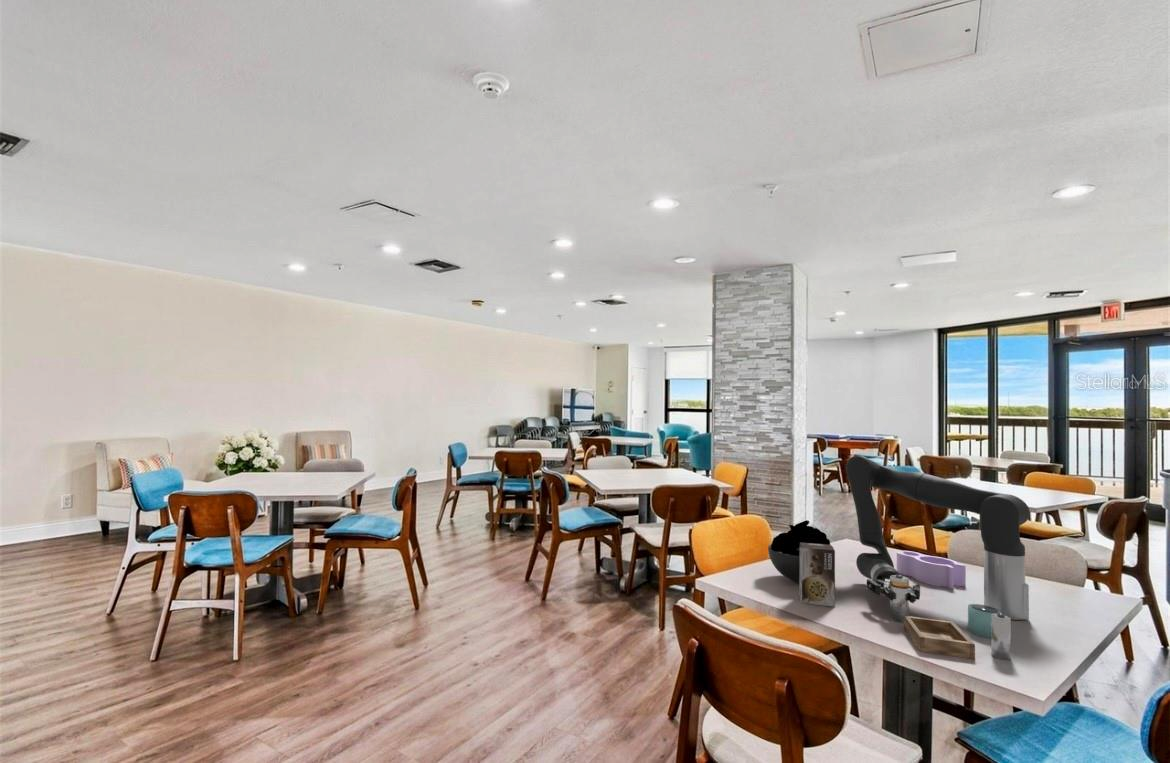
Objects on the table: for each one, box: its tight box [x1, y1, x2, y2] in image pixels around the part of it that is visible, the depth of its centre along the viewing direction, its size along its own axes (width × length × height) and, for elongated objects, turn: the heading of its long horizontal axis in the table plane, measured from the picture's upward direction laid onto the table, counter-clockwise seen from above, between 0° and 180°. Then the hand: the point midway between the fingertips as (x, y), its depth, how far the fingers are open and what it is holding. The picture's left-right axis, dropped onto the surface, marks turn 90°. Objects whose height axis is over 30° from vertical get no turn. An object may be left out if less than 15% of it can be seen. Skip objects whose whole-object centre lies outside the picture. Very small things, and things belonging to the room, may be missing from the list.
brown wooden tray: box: [903, 615, 976, 660], centre depth 132 cm, size 11×14×3 cm
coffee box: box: [798, 542, 836, 608], centre depth 159 cm, size 9×6×16 cm
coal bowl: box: [767, 519, 831, 583], centre depth 178 cm, size 20×20×19 cm
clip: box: [896, 550, 967, 590], centre depth 186 cm, size 20×12×7 cm, turn 26°
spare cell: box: [990, 613, 1012, 661], centre depth 126 cm, size 4×4×10 cm
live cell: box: [889, 574, 910, 623], centre depth 147 cm, size 4×4×12 cm
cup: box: [967, 603, 1002, 639], centre depth 140 cm, size 7×7×6 cm
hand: (902, 597), depth 145 cm, fingers closed on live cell, 4 cm apart
